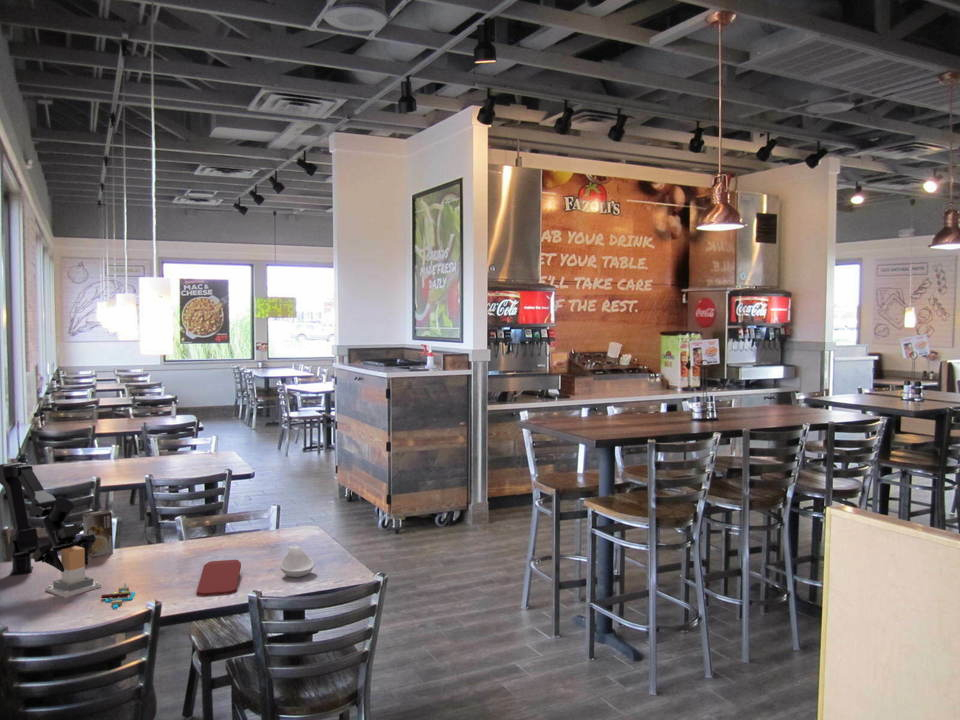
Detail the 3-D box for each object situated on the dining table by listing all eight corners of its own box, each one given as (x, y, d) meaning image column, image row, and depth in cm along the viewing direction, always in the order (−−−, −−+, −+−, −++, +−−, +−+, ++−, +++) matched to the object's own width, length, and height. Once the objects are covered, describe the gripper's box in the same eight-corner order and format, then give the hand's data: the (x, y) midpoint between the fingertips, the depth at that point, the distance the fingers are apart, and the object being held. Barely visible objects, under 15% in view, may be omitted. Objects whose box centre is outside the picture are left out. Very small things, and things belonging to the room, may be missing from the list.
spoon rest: (316, 578, 258) (316, 558, 258) (281, 582, 254) (281, 561, 254) (308, 559, 280) (307, 540, 280) (276, 562, 276) (275, 543, 276)
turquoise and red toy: (95, 612, 227) (128, 609, 229) (95, 595, 227) (128, 592, 229) (107, 590, 246) (138, 588, 249) (107, 574, 246) (138, 572, 248)
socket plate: (45, 590, 244) (45, 581, 244) (81, 580, 254) (80, 571, 254) (65, 597, 238) (65, 588, 238) (101, 586, 248) (101, 577, 248)
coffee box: (109, 549, 290) (108, 509, 290) (113, 553, 285) (112, 512, 285) (83, 554, 284) (82, 513, 284) (86, 558, 279) (86, 516, 279)
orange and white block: (61, 586, 245) (61, 549, 245) (76, 582, 249) (76, 545, 249) (70, 589, 243) (69, 552, 242) (85, 584, 247) (84, 548, 246)
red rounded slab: (236, 604, 243) (242, 569, 267) (235, 590, 242) (242, 556, 266) (196, 607, 240) (206, 571, 264) (195, 593, 239) (205, 558, 263)
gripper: (36, 521, 239) (56, 561, 234) (92, 510, 255) (112, 546, 250) (24, 542, 244) (43, 581, 238) (80, 529, 260) (99, 565, 254)
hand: (75, 567), depth 245 cm, fingers open, 8 cm apart
